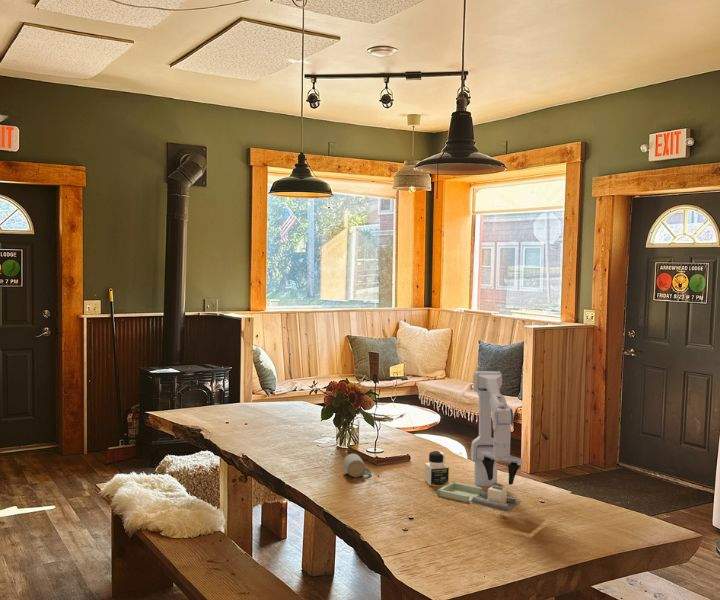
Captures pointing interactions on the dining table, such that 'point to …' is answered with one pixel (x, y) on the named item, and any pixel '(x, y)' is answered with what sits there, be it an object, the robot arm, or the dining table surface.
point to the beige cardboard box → (497, 494)
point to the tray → (459, 491)
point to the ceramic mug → (355, 466)
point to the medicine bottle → (436, 469)
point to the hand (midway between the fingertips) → (500, 481)
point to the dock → (494, 502)
